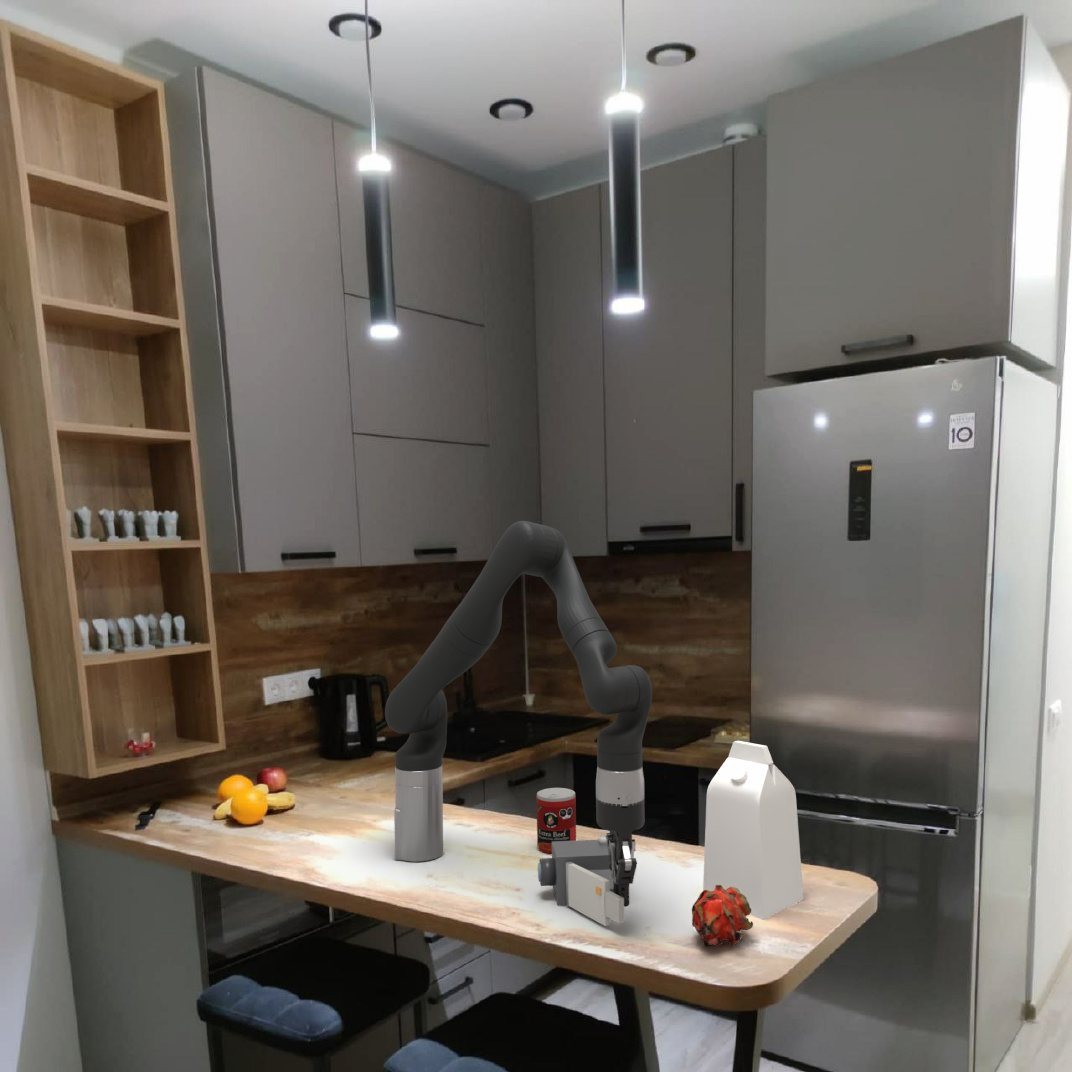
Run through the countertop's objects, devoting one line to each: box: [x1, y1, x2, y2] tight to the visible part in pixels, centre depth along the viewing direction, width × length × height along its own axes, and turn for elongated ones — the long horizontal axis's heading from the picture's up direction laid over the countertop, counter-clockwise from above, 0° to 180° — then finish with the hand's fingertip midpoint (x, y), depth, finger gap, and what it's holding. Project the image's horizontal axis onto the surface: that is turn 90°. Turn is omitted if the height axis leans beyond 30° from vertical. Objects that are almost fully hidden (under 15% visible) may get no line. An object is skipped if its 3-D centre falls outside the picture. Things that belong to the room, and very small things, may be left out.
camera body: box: [537, 835, 614, 907], centre depth 149 cm, size 15×8×9 cm, turn 95°
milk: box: [702, 740, 804, 920], centre depth 147 cm, size 12×12×26 cm
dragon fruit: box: [691, 885, 754, 948], centre depth 131 cm, size 8×8×12 cm
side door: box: [565, 862, 625, 927], centre depth 139 cm, size 14×1×7 cm, turn 35°
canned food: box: [536, 787, 577, 855], centre depth 173 cm, size 8×8×11 cm
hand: (621, 904), depth 137 cm, fingers closed
